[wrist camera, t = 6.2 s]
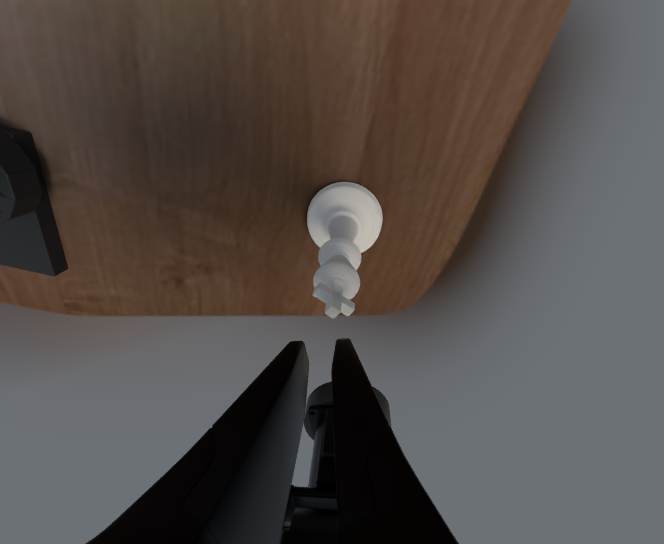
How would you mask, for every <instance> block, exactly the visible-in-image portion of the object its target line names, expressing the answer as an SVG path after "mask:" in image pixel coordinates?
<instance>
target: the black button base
mask: <svg viewBox="0 0 664 544" xmlns="http://www.w3.org/2000/svg"><path fill="white" fill-rule="evenodd" d="M0 265H5V266H10V267H14V268H19V269H23V270H28V271H33V272H37V273H42V274H46V275H51V276H56V275H58V274H60V273H61V272H63V271H65V270H67V269H68V268H67V264H66V260H65V257H64V253H63V249H62V246H61V242H60V238H59V235H58V231H57V227H56V224H55V220H54V216H53V213H52V209H51V205H50V202H49V198H48V195H47V191H46V187H45V184H44V180H43V176H42V173H41V169H40V165H39V162H38V158H37V154H36V151H35V147H34V143H33V140H32V136H31V133H30V132H25V131H21V130H17V129H13V128H8V127H4V126H0Z"/></svg>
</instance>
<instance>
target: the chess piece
mask: <svg viewBox="0 0 664 544" xmlns="http://www.w3.org/2000/svg"><path fill="white" fill-rule="evenodd" d="M307 226H308V230H309V233H310V236H311V237H312V239H313V241H314V242H315V243H316V244H317V245H318V246H319V247H320V250H319V254H318V259H319V263H320V265H321V266H320V267H319V268H318V269H317V271H316V273H315V275H314V278H313V285H314V288H315V289H314V291H313V296H314V297H316V298H318V299H319V300H321V301H323V302H324V303H326V307H325V314H326V315H328V316H330V317H331V318H333V319H334V318H335V317H336V316H337V315H338V314H339V313H340V312H341V313H343V314H344V315H346V316H349V315H350V314H351V313H352V312H353V311H354V310H355V303H354V302H352V301H350V299H351V298H353V297H354V296H355V295H356V294H357V292H358V290H359V287H360V279H359V275H358V273H357V271H356V270H357V269H358V267H359V265H360V263H361V253H362V252H364V251H366V250H367V249H368V248H370V247H371V246H372V245H373V244H374V242H375V241H376V239H377V238H378V236H379V233H380V230H381V226H382V210H381V207H380V204H379V202H378V200H377V199H376V197H375V196H374V195H373V194H372V193H371V192H370V191H369V190H368V189H366V188H365V187H363V186H361V185H359V184H356V183H352V182H338V183H333V184H330V185H328V186H326V187H324V188H323V189H321V190H320V191H319V192H318V193H317V194H316V195H315V196H314V198H313V199H312V201H311V203H310V205H309V208H308V213H307Z"/></svg>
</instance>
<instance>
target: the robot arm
mask: <svg viewBox="0 0 664 544" xmlns="http://www.w3.org/2000/svg"><path fill="white" fill-rule="evenodd" d="M308 370H309V360H308V357H307V352H306V348H305V344H304V342H303V341H291V342H289V344H287V346H286V347H285V348H284V349H283V350H282V351H281V352H280V353H279V354H278V355H277V356H276V357H275V359H274V360H273V361H272V362H271V363H270V364H269V365H268V366H267V367H266V368H265V369H264V370H263V372H262V373H261V374H260V375H259V376H258V377H257V378H256V379H255V380H254V381H253V382H252V384H250V386H249V387H248V388H247V389H246V390H245V391H244V392H243V393H242V394H241V395H240V396H239V397H238V399H237V400H236V401H235V402H234V403H233V404H232V405H231V406H230V407H229V408H228V409H227V410H226V412H225V413H224V414H223V415H222V416H221V417H220V418H219V419H218V420H217V421H216V422H215V423H214V424H213V426H212V428H210V429H209V430H208V431H207V432H206V433H205V434H204V435H203V436H202V437H201V438H200V440H199V441H198V442H197V443H196V444H195V445H194V446H193V447H192V448H191V449H190V450H189V451H188V452H187V453H186V454H185V455H184V456H183V457H182V458H181V459H180V460H179V461H178V462H177V463H176V464H175V465H174V466H173V467H172V468H171V469H170V470H169V471H168V472H167V473H165V475H164V476H162V477H161V478H160V479H159V480H158V481H157V482H156V483H155V484H154V485H153V486H152V487H150V488H149V489H148V490H147V491H146V492H145V493H144V494H143V495H142V496H141V497H140V498H139V499H138V500H137V501H136V502H134V503H133V504H132V505H131V506H130V507H129V508H128V509H127V510H126V511H125V512H124V513H123V514H121V515H120V516H119V517H118V518H117V519H116V520H115V521H114V522H113V523H112V524H111V525H109V526H108V527H107V528H106V529H105V530H104V531H102V532H101V533H100V534H99V535H97V536H96V537H95V538H93V539H92V540H91V541H89V542H87V543H86V544H459V543H458V542H457V541H456V539H455V537H454V536H453V534H452V532H451V531H450V529H449V528H448V526H447V525H446V523H445V521H444V520H443V518H442V516H441V515H440V514H439V512H438V510H437V509H436V507H435V505H434V504H433V502H432V500H431V499H430V497H429V496H428V494H427V493H426V491H425V489H424V488H423V486H422V485H421V483H420V481H419V480H418V478H417V476H416V475H415V473H414V471H413V470H412V468H411V466H410V465H409V463H408V461H407V459H406V457H405V456H404V453H403V452H402V449H401V447H400V445H399V443H398V441H397V439H396V437H395V435H394V433H393V431H392V429H391V427H390V426H389V423H388V420H387V418H386V416H385V414H384V412H383V410H382V407H381V405H380V403H379V401H378V399H377V397H376V394H375V392H374V390H373V388H372V386H371V384H370V381H369V380H368V377H367V375H366V373H365V371H364V368H363V366H362V364H361V362H360V360H359V358H358V355H357V353H356V351H355V349H354V347H353V345H352V342H351V340H350V339H349V338H345V339H338V340H336V345H335V351H334V357H333V363H332V399H333V405H312V406H309V407H308V409H307V415H308V419H309V422H310V426H311V429H312V433H313V437H314V447H313V456H312V462H311V470H310V478H309V485H308V487H296V486H294V485H291V483H292V478H293V472H294V468H295V463H296V458H297V453H298V447H299V442H300V437H301V432H302V427H303V422H304V416H305V408H306V396H307V383H308V372H309V371H308Z"/></svg>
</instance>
